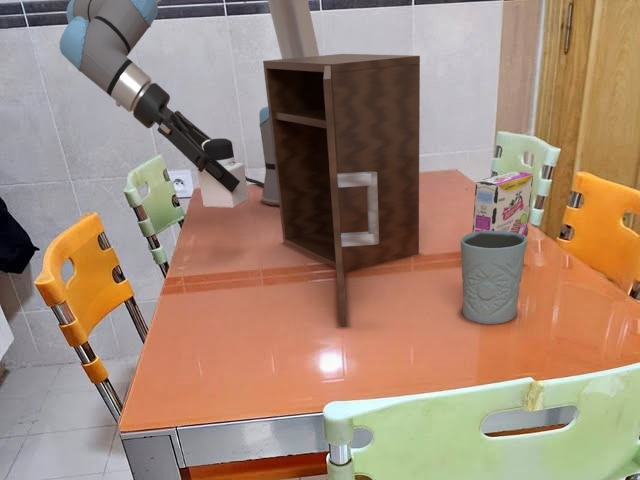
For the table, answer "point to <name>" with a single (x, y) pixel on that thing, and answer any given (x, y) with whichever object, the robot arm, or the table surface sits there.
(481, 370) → the table surface
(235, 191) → the medicine bottle
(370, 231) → the cupboard door
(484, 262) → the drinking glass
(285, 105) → the cupboard
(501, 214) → the food carton
